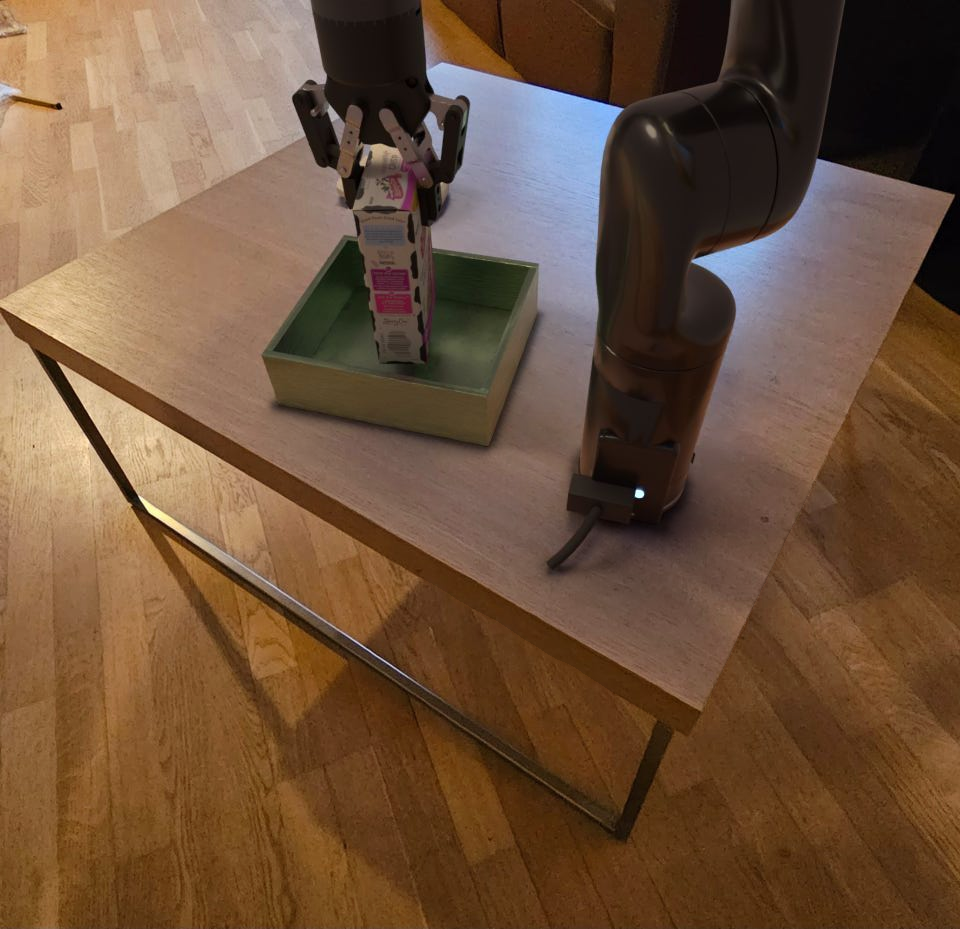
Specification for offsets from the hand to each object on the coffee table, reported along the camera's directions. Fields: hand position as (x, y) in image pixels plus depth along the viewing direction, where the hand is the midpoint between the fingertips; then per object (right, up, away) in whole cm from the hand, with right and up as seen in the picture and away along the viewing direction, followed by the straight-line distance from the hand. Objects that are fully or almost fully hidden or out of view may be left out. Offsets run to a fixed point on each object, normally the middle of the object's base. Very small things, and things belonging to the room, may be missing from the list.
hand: (395, 216), depth 62 cm
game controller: (-3, +13, +32) cm, 35 cm away
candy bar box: (0, -8, +10) cm, 13 cm away
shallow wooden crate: (0, -10, +13) cm, 16 cm away
